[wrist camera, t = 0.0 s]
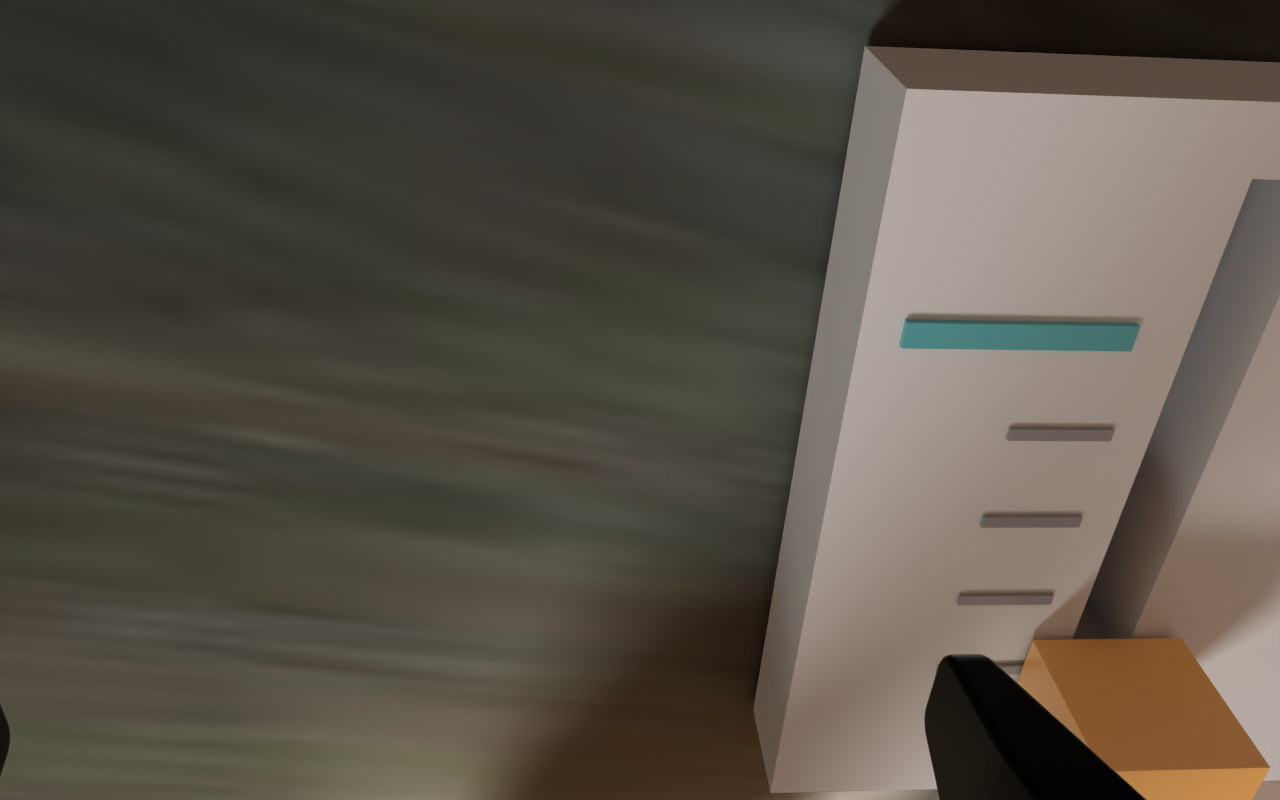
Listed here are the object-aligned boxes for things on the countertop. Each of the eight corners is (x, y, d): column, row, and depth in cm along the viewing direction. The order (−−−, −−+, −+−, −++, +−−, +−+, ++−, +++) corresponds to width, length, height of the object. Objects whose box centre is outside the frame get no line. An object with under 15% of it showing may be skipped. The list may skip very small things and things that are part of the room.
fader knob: (1113, 638, 30) (1231, 832, 25) (979, 640, 30) (1071, 837, 24) (1139, 577, 29) (1270, 767, 24) (999, 578, 28) (1101, 771, 23)
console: (1242, 700, 33) (1302, 784, 31) (753, 709, 32) (771, 798, 29) (1580, 74, 23) (1716, 120, 20) (864, 45, 21) (909, 91, 19)
